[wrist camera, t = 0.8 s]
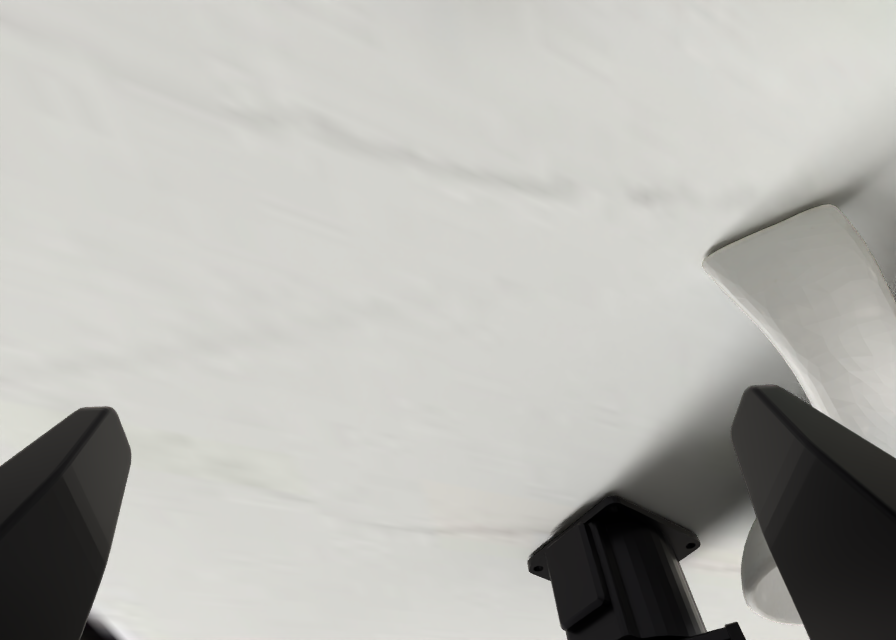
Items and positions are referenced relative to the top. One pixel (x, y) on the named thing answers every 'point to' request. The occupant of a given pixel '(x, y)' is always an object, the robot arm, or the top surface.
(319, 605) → the top surface
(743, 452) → the robot arm
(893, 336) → the spoon rest
